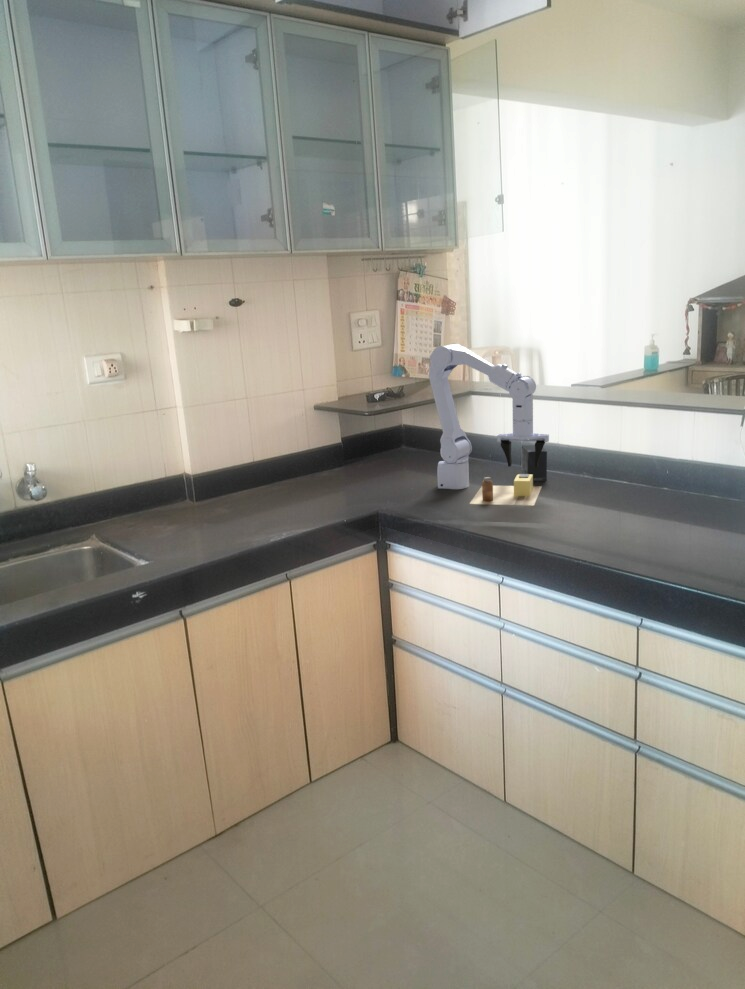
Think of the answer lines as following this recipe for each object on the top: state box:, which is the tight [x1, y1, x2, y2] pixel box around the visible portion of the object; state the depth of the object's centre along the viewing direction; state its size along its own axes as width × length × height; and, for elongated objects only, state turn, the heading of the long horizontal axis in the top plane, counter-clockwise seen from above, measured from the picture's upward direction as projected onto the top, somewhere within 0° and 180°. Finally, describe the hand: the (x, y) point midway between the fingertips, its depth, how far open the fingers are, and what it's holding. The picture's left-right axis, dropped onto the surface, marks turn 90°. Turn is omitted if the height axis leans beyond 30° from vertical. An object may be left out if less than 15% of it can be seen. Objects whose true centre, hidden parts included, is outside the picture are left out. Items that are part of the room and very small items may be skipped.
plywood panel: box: [469, 484, 543, 507], centre depth 220 cm, size 18×21×1 cm
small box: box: [521, 444, 548, 482], centre depth 237 cm, size 11×6×10 cm, turn 179°
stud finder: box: [513, 473, 534, 496], centre depth 220 cm, size 4×8×5 cm, turn 162°
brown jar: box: [481, 476, 494, 501], centre depth 215 cm, size 3×3×6 cm
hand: (523, 465), depth 219 cm, fingers open, 7 cm apart
